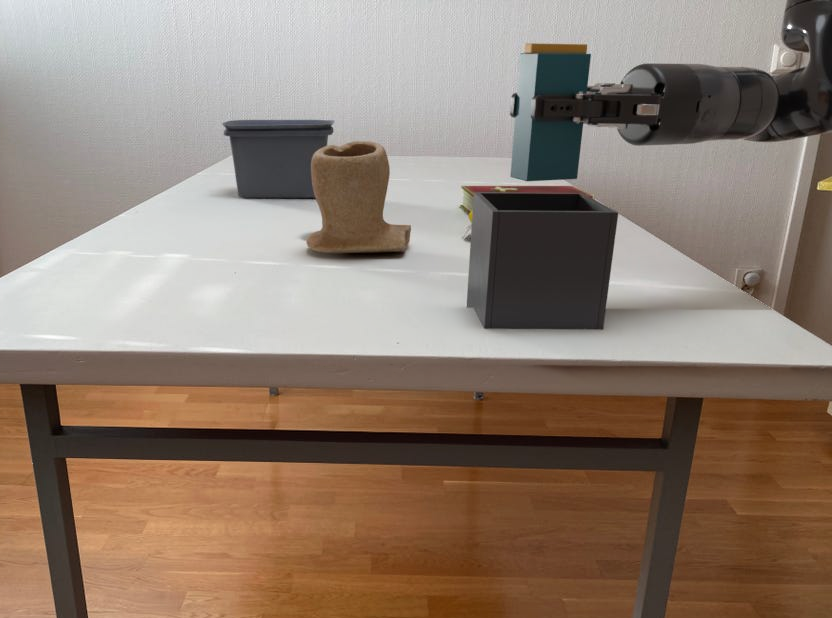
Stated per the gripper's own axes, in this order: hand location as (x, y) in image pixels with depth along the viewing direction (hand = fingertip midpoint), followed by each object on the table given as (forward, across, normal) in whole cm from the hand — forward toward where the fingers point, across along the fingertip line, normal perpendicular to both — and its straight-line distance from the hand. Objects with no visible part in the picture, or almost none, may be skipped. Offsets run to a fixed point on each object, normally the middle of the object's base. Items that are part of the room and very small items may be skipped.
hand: (523, 106), depth 70 cm
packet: (-3, 0, +6) cm, 7 cm away
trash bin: (-3, 0, +21) cm, 21 cm away
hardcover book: (-37, -57, +22) cm, 71 cm away
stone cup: (+2, -36, +22) cm, 42 cm away
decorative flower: (-22, -41, +22) cm, 52 cm away
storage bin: (-1, -89, +22) cm, 92 cm away
